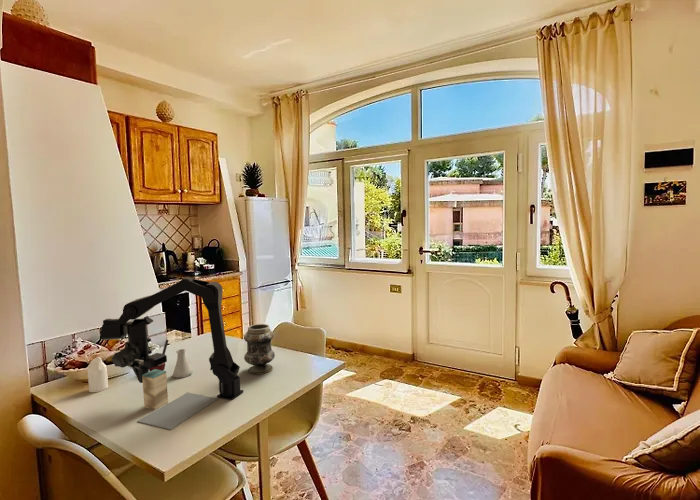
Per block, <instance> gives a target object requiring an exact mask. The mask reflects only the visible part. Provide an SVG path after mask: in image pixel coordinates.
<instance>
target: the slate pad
mask: <svg viewBox="0 0 700 500" xmlns="http://www.w3.org/2000/svg"><path fill="white" fill-rule="evenodd" d="M218 399H219V397H214V396H209V395H203V394H198V393H193V392H188V391H187V392H185V393H184V394H182V395H181V396H179V397H177V398H175V399H173V400H171V401H170V402H168V403H167V404H165V405H163V406H161V407H160V408H158V409H156V410H154V411H153V412H150V413H149V414H147V415H145V416H143V417H142V418H140V419H138V420H137V421H136V422H137V423H140V424H144V425H149V426H152V427H155V428H156V427H157V428H160V429H164V430H169V431H172V430H173V429H174V428H176V427H178V426H179V425H181V424H182V423H184V422H185V421H187V420H188V419H190V418H192V417H193V416H194V415H196V414H198V413H199V412H201V411H202V410H204V409H205V408H207V407H209V406H210V405H211V404H212V403H214V402H216V401H217V400H218Z"/></svg>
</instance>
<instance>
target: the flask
mask: <svg viewBox="0 0 700 500" xmlns="http://www.w3.org/2000/svg"><path fill="white" fill-rule="evenodd" d="M186 350H187V349H185V348H181V349H177V350H176V354H177V359H176V362H175V366H174V369H173V372H172V376H171V377H172V378H178V379H179V378H186V377H188V376H191V375H192V373H193V372H194V371H193V370H192V367H191V365H190V364H189V360H188V359H187V356H186V352H187V351H186Z"/></svg>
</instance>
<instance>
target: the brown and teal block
mask: <svg viewBox="0 0 700 500" xmlns="http://www.w3.org/2000/svg"><path fill="white" fill-rule="evenodd" d="M142 380H143V383H142V390H143V391H142V392H143V403H144V404H143V406H144V408H145V409H146V408H147V409H150V410H154V411H156V410H157V409H159V408H161V407H163V406H164V405H166V404H168V403H169V394H168V393H169V391H168V379H167V370H157V369H154V370H152V371H149V372H148V373H145V374H143V375H142Z"/></svg>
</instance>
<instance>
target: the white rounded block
mask: <svg viewBox="0 0 700 500" xmlns="http://www.w3.org/2000/svg"><path fill="white" fill-rule="evenodd" d="M86 370H87V381H88V392H90V393H98V392H102V391H105V390H107V389H109V378H108V370H107V365H106V364H105V363H104V361H103V360H102V358H101V357H100V356H96V357H95V358H93V359H91V362H90V363H89V364H88V366H87V369H86ZM106 388H107V389H106Z"/></svg>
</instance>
